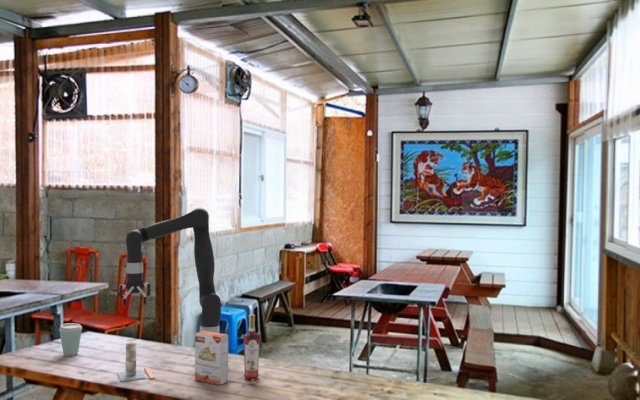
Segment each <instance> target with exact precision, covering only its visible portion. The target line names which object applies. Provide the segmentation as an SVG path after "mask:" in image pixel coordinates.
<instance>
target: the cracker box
mask: <svg viewBox="0 0 640 400" xmlns="http://www.w3.org/2000/svg"><path fill="white" fill-rule="evenodd" d="M194 336H195V339H194V343H195V347H194V381H199V382H202V383H203V382H204V383H207V384H212V385H215V384H216V385H215V386H221V384H222V385H224V384H226V383H228V381H229V334H227V333H220V332H219V333H215V332H210V331H201V332H200V331H198V332H195V334H194Z"/></svg>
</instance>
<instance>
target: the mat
mask: <svg viewBox="0 0 640 400" xmlns="http://www.w3.org/2000/svg"><path fill="white" fill-rule="evenodd" d="M116 374H117V377H118V379H119V381H120V383H125V382H131V381H137V380H145V379H146V377H145V376H144V374H143V372H142V369H136V375H135V376H132V377H127V376H126V371H121V372H117V373H116Z"/></svg>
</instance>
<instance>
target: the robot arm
mask: <svg viewBox="0 0 640 400" xmlns="http://www.w3.org/2000/svg"><path fill="white" fill-rule="evenodd" d="M209 219H210V213H209V212H208V211H207V209H205V208H203V207H196V208H194V209H193V210H191V211H190V212H188V213H185V214H184V215H183V214H182V215H181V216H179V217H176V218H170V219H167V220H162V221H158V222H155V223H153V224H149V225H147V226H145V227H141V228H137V229H133V230H131V231H129V232H128V233H127V234H126V236H125V244H126V252H127V254H126V255H127V256H126V257H127V258H126V270H125V272H126V276H125V277H126V279H125V280H126V283H125V284H119V285H118V286H119V287H118V297H119V298H121V299H122V305H123V306H124V307H127V297H128V296H129V295H130V294H139V293H140V294H141V295H142V305H143V306H146V305H147V297H149V296H151V283H149V282H146V283H144V264H143V261H144V259H143V257H144V254H143V251H142V243H144V242H145V243H146V242H149V241H150V240H155V239H159V238H162V237H164V236H167V235H171V234H173V233H176V232H179V231H182V230H186V229H192V230H193V235H194V236H193V237H194V245H193V253H194V256H193V257H194V263H195V270H196V275H197V276H196V277H197V281H198V288H199V289H198V291H199V292H198V293H199V295H198V298H199V302H198V303H199V305H200V307H201V318H200V322H199V323H200V326H199V327H200V328H199V329H200V331H199V332H201V331H210V332H215V333H220V322H221V317H222V314H221V313H222V300H221V297H220V296H219V295H218V294H217V293H216V289H215V282H214V281H215V280H214V277H215V257H214V256H215V255H214V250H213V244H212V241H211V238H210V237H211V236H210V226H209V224H210V222H209ZM144 287H145V288H146V293H145V292H144V290H143V288H144ZM125 288H126V291H125V292H124V294H123V290H124V289H125Z"/></svg>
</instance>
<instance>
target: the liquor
mask: <svg viewBox="0 0 640 400" xmlns="http://www.w3.org/2000/svg"><path fill="white" fill-rule="evenodd" d="M248 321H249V323H248V324H249V325H248V332H246V333H245V334H244V335H243V355H244V357H243V359H244V361H243V362H244V364H243V365H244V374H243V377H244V379H246V380H247V379H249V380H248V381H253V380H252V379H255V380H257V378H259V377H260V374H259V364H260V363H259V359H260V348H261V344H260V343H261V334H259V333H258V332H256V324H255V321H256V314H249V315H248Z"/></svg>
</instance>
